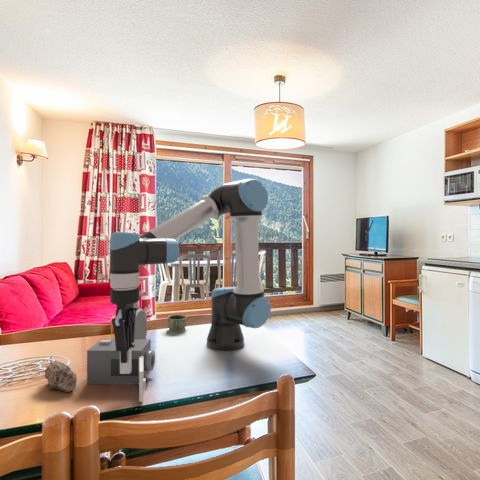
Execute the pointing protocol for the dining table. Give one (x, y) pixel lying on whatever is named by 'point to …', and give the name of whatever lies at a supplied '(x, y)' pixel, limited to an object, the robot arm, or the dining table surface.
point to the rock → (60, 377)
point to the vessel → (177, 323)
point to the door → (141, 378)
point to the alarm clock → (140, 324)
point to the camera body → (117, 362)
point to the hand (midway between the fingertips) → (125, 372)
